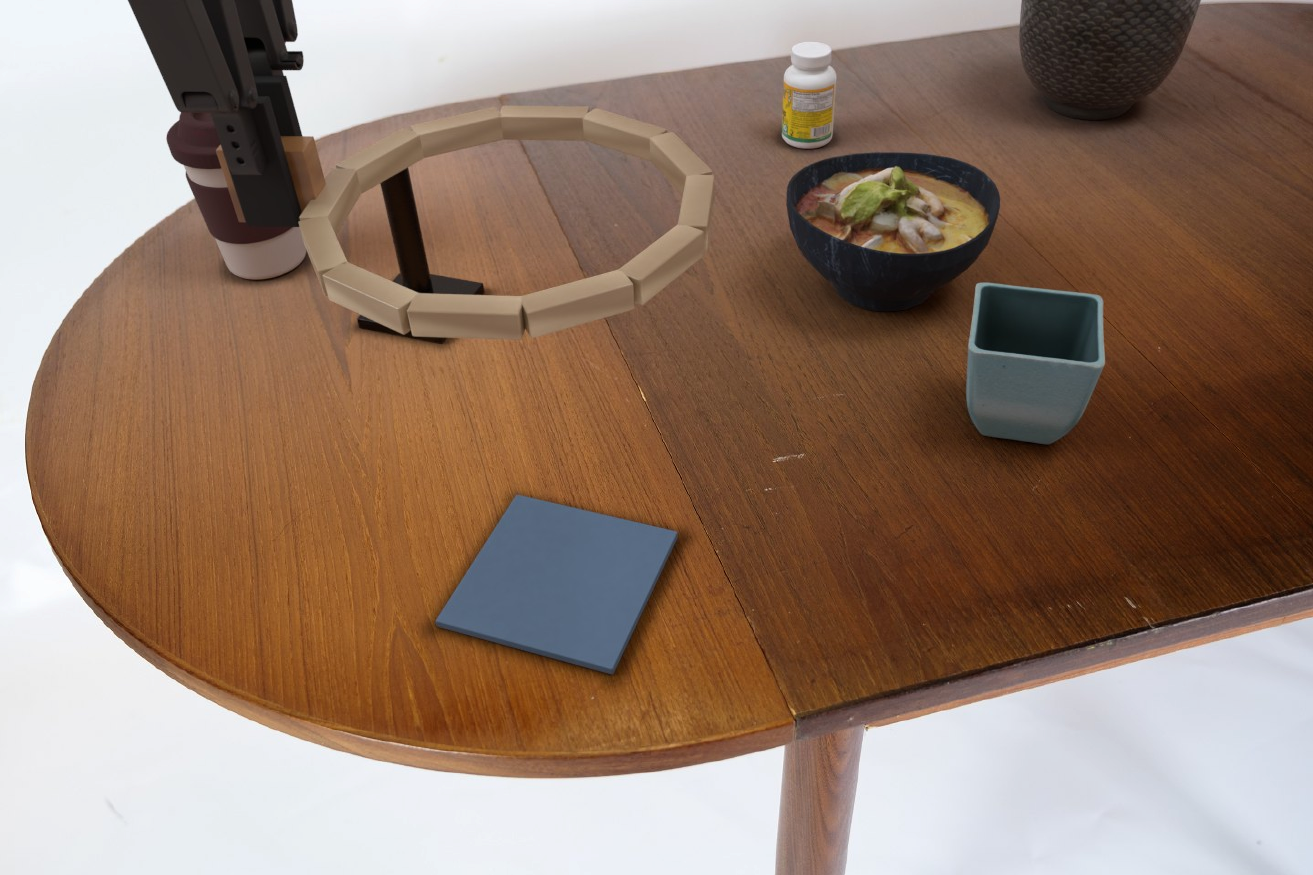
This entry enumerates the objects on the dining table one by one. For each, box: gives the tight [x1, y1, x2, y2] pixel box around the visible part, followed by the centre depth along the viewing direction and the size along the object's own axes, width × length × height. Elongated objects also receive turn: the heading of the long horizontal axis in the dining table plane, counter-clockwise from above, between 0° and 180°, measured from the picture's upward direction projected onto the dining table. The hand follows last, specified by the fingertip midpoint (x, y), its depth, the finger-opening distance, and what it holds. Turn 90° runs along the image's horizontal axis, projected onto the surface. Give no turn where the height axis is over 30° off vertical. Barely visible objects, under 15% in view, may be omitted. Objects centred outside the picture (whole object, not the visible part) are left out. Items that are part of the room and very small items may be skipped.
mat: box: [435, 494, 679, 676], centre depth 74 cm, size 12×12×1 cm
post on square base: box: [356, 167, 485, 344], centre depth 93 cm, size 8×8×14 cm
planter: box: [1018, 0, 1202, 121], centre depth 118 cm, size 17×17×16 cm
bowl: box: [785, 151, 1001, 312], centre depth 95 cm, size 17×17×10 cm
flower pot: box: [965, 282, 1106, 445], centre depth 81 cm, size 9×9×9 cm
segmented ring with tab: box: [216, 105, 716, 341], centre depth 55 cm, size 24×20×4 cm
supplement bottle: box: [781, 41, 837, 150], centre depth 116 cm, size 5×5×10 cm
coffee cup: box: [165, 112, 307, 280], centre depth 100 cm, size 10×10×15 cm
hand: (283, 210), depth 57 cm, fingers closed on segmented ring with tab, 2 cm apart
